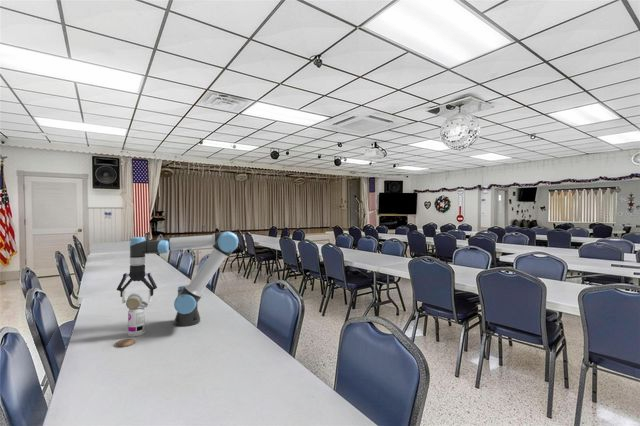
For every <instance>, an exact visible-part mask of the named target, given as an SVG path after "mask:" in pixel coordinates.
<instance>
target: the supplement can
mask: <svg viewBox="0 0 640 426" xmlns="http://www.w3.org/2000/svg"><path fill="white" fill-rule="evenodd" d="M127 315H128V316H127V317H128V318H127V319H128V320H127V335H128V336H129V337H131V338H132V337H133V338H134V337H135V338H136V337H140V336H143V335H144V334H145V333H146V308H144V307H140V306H139V307H138V308H136V309H133V310H132V309H129V308H128V311H127Z"/></svg>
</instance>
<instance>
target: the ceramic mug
mask: <svg viewBox="0 0 640 426" xmlns="http://www.w3.org/2000/svg"><path fill="white" fill-rule="evenodd" d="M148 303H149V302H146V301H144V298H143V296H142V294H141V293H137V292H133V293H131V294H129V295H128V298H126V302H125V306H126V307H127V309H128V310H129V309H132V310H133V309H136V308H138V307H139V306H140V307H144V309H146V308H147V307H148V306H149V304H148Z"/></svg>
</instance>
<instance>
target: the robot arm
mask: <svg viewBox="0 0 640 426" xmlns="http://www.w3.org/2000/svg"><path fill="white" fill-rule="evenodd" d="M237 247H239V237H238V235H237V234H235V233H234V232H233V231H229V230H226V231H221V232H214V233H213V234H207V235H195V236H191V235H190V236H182V237H181V236H180V237H169V238H168V237H167V238H164V237H161V238H157V239H155V240H146V237H145V236H133V237H131V238H130V241H129V273H127V272H125V273H123V274H122V278H121V280H120V282H119V284H118V286H117V288H116V291H119V293H120V294H119V295H120V297H119V298H121V304H126V301H127V298H126V294H127V293H126V292H127V291H126V289H127V287H128V286H129V285H130V284H131V283H132V282H141V283H143V284H144V285H145V286H146V287H147V288H148V303H151V302H152V297H153V296H154V290H156V289H157V288H158V286H157V284H156V282H155V280H154V279H153V276H152V272H150V271H149V272H148V273H147V272H146V265H145V264H146V255H147V254H148V255H149V254H150V255H152V254H161V255H162V254H168V253H169V251H176V250H177V251H178V250H188V249H201V248H212V251H211V253H210V254H209V255H208V257H207V258H206V260H205V261H204V263H203V264H202V265H201V267H200V268H199V270H198V271H197V273H196V274H195V275H194V277H193V278H192V280H191V281H190V282H189V284H186V285H180V286H178V287H177V296H176V297H175V299H174V301H173V306H174V310H175V311H176V313H175V318H174V321H173V322H174V325H175V326H178V327H189V326H194V325H197V324H199V323H200V322H201V316H200V312H199V308H198V303H199V301H200V300H201V299H202V297H203V291H204V290H205V288H206V287H207V285H208V283H210V281H211V279H212V278H213V276H214V275H215V274H216V272H217V271H218V269H219V268H220V266H221V265H222V264H223V262H224V261H225V259H227V258H229V257H231V255H232V253H233V252H234V251H236V249H237ZM145 277H147V279H148V280H149V281H148V280H147V279H146V278H145ZM128 278H129V279H128ZM126 279H128V280H127V282H126ZM125 282H126V283H125ZM124 283H125V284H124ZM198 322H199V323H198ZM196 323H197V324H196Z"/></svg>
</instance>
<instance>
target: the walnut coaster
mask: <svg viewBox="0 0 640 426" xmlns="http://www.w3.org/2000/svg"><path fill="white" fill-rule="evenodd" d="M136 342H137V341H136V339H135V338H123V339H120V340H117V341H116V342H115V347H116V348H127V347H131V346H134V345H135V344H136Z"/></svg>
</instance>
